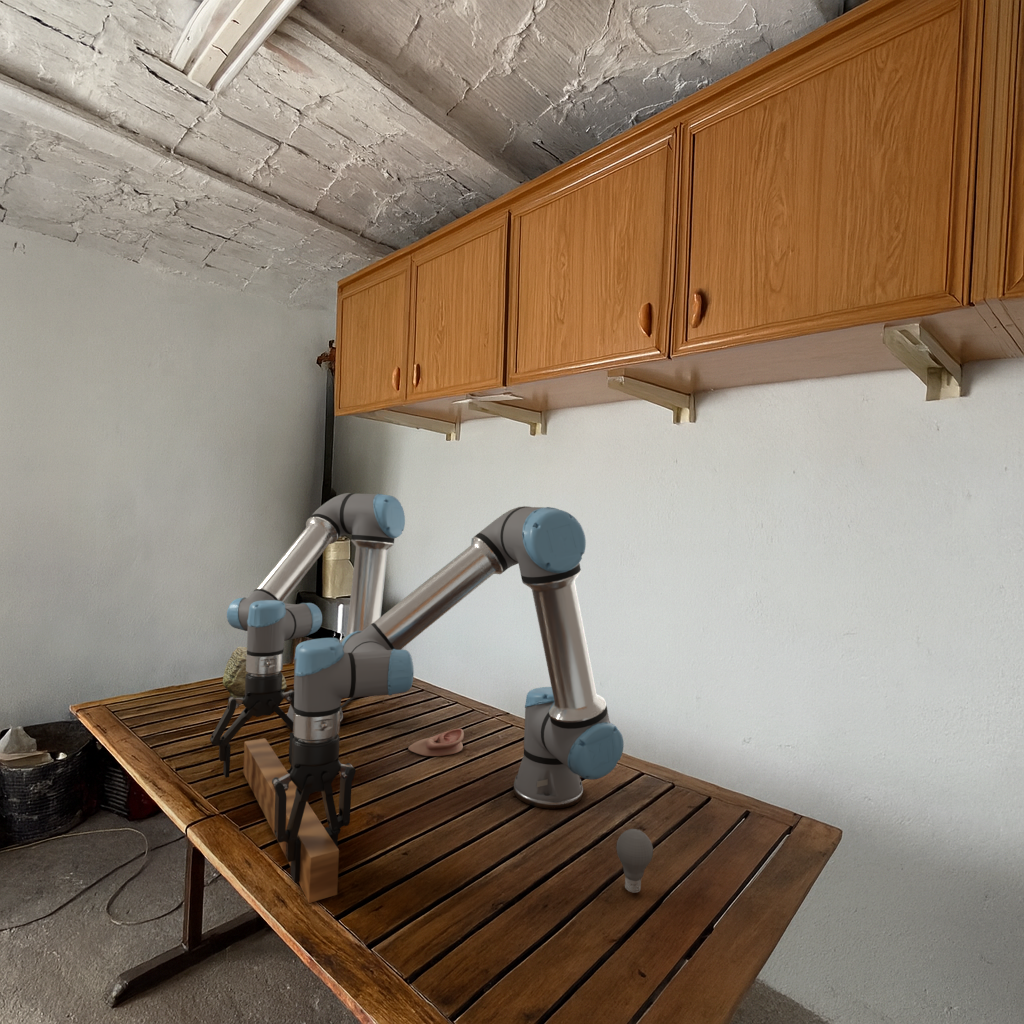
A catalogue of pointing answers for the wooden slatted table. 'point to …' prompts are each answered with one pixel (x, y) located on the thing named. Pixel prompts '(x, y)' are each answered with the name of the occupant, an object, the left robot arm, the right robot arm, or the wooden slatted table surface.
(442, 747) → the anatomical model
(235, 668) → the fossil
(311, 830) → the bar
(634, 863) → the light bulb
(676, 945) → the wooden slatted table surface
